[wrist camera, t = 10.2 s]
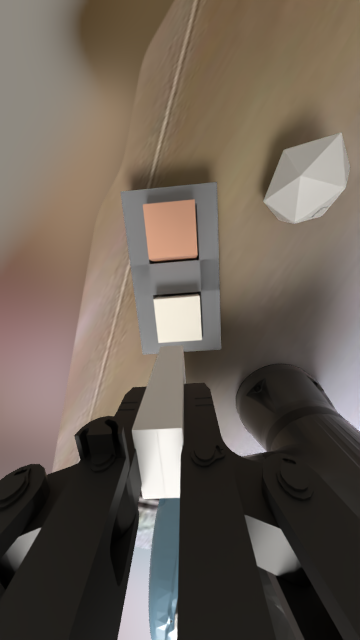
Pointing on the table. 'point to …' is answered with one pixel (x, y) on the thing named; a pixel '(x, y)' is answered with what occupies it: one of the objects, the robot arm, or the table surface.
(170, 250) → the terracotta key
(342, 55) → the table surface
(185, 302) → the cream key
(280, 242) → the table surface
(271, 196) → the die
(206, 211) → the key box
